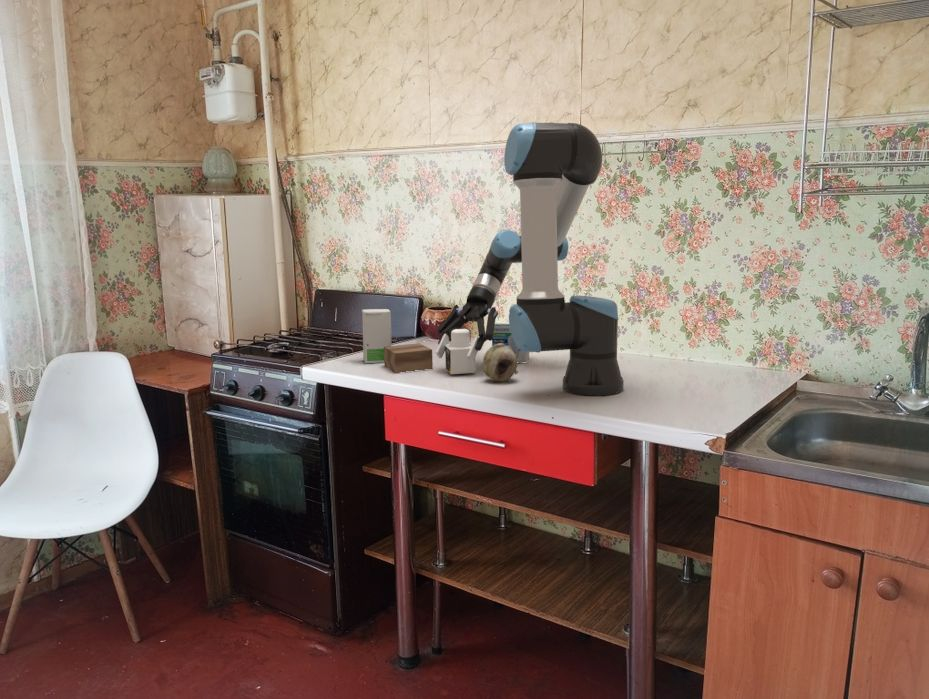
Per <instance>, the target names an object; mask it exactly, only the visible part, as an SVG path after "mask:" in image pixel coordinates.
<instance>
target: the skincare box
mask: <svg viewBox="0 0 929 699" xmlns="http://www.w3.org/2000/svg"><path fill="white" fill-rule="evenodd" d="M361 313H362V315H361V316H362V350H363V351H362V355H363V356H362V357H363V361H364V363H365V364H382V363H383V364H384V347H386V346H392V315H391V314H392V312H391V310H389V309H388V308H380V309H379V308H374V309H373V308H370V309H361Z"/></svg>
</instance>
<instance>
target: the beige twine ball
mask: <svg viewBox="0 0 929 699" xmlns="http://www.w3.org/2000/svg"><path fill="white" fill-rule="evenodd" d="M517 364H518V363H517V358H516V355H515V354H514V352H513V351H512V349H511V347H510V346H505V345H504V344H503V343H499V344H496V345H494V346H492V345H491V347H489V348H488V349H487V350H486V351H485V353H484V356H483V361H482V366H481V367H482V372H483V374H484V375H485V376H486V377H487V378H489V379H490V380H491V381H494V382H500V383H504V381H507V380H508V381H509V379H512V377H513V376H514V375H517V374H518V373H519V370H517V366H518V365H517Z"/></svg>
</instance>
